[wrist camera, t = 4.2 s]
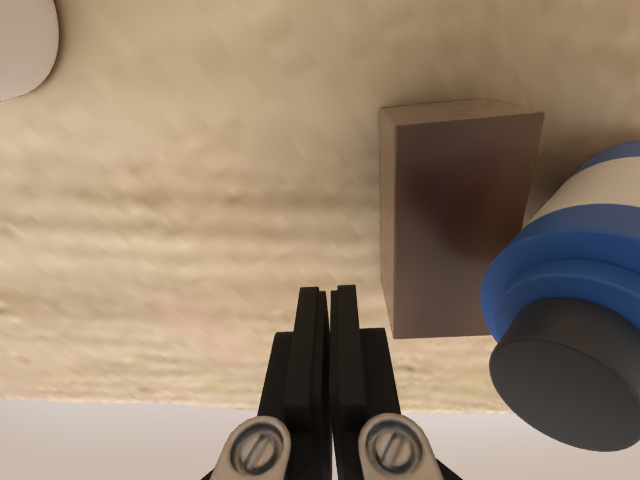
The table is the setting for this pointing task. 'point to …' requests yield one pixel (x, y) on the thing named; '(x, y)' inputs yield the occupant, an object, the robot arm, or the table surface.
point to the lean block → (449, 207)
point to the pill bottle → (26, 45)
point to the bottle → (573, 308)
